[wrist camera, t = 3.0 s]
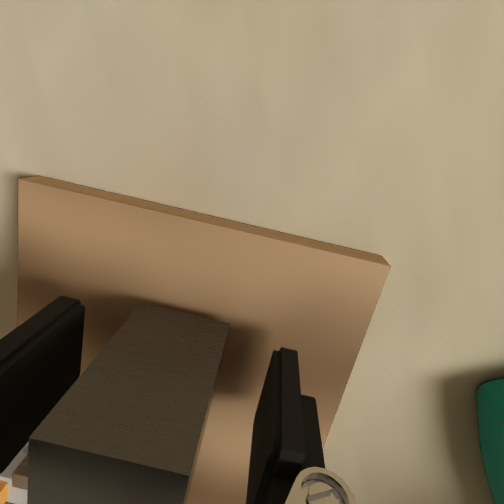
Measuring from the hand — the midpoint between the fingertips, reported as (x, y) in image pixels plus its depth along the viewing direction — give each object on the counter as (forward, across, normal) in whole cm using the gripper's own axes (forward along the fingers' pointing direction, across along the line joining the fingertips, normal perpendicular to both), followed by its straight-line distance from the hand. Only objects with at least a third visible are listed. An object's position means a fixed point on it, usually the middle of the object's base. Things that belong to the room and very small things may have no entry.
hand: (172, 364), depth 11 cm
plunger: (+1, +1, +5) cm, 5 cm away
